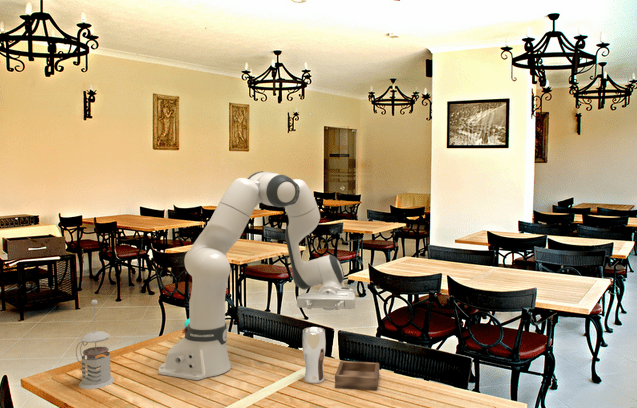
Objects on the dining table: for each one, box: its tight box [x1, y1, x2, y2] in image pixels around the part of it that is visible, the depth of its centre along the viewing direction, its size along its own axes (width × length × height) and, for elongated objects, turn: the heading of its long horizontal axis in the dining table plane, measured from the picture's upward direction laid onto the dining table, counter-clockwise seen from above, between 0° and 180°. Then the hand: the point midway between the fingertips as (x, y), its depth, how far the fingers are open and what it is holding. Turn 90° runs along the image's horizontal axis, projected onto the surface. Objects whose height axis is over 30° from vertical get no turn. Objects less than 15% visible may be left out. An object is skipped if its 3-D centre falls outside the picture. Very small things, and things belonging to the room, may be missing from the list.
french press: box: [75, 299, 115, 390], centre depth 149 cm, size 10×12×25 cm
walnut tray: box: [334, 360, 380, 392], centre depth 148 cm, size 12×12×4 cm
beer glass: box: [301, 326, 327, 384], centre depth 149 cm, size 7×7×15 cm
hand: (322, 307), depth 164 cm, fingers open, 8 cm apart
